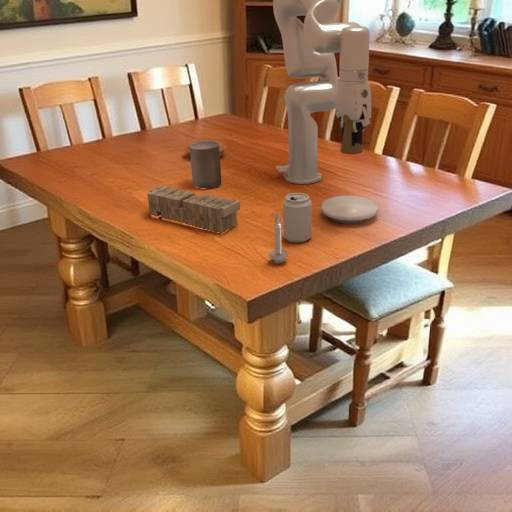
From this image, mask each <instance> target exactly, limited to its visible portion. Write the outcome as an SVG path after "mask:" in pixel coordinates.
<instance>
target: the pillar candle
mask: <svg viewBox="0 0 512 512" xmlns="http://www.w3.org/2000/svg"><path fill="white" fill-rule="evenodd" d="M199 141H200V142H197V141H194V142H191V143H192V144H191V143H190V144H191V145H190V144H189V145H188V146H189V147H190V155H189V156H190V166H191V180H192V185H194V186H196V187H199V188H212V189H215V188H214V187H217V186H219V185H221V183H222V182H223V181H222V172H221V171H222V169H221V157H220V151H219V143H218V142H219V141H218V142H215V141H216V140H199ZM222 184H223V183H222ZM194 186H193V187H194ZM221 186H222V185H221ZM219 187H220V186H219ZM217 188H218V187H217Z"/></svg>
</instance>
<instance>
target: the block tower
mask: <svg viewBox="0 0 512 512" xmlns="http://www.w3.org/2000/svg"><path fill="white" fill-rule="evenodd" d="M195 194H196V193H195V192H194V191H187V190H183V189H179V188H175V187H171V186H165V185H158V186H156V187H154V188H151V189H149V192H148V193H147V202H148V209H149V216H150V215H154V216H159V215H161V217H160V218H165V219H169V220H174V221H178V222H181V223H185V224H188V225H192V226H195V227H199V228H203V229H207V230H210V231H214V232H219V233H223V232H225V231H226V230H228V229H230V228H232V227H233V228H235V227H236V225H237V226H238V214H237V212H238V211H240V210H242V209H241V201H240V200H236V199H234V198H232V199H231V198H229V199H227V198H223V197H219V196H214V195H209V194H205V193H203V194H201V195H198V196H195ZM234 226H235V227H234ZM233 228H232V229H233ZM230 230H231V229H230ZM210 231H209V232H210ZM228 231H229V230H228ZM214 232H213V233H214ZM219 233H218V234H219ZM225 233H226V232H225ZM223 234H224V233H223Z"/></svg>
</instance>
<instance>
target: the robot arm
mask: <svg viewBox="0 0 512 512" xmlns="http://www.w3.org/2000/svg"><path fill="white" fill-rule="evenodd" d="M343 1H344V0H272V2H273V3H272V7H273V15H274V19H275V21H276V24H277V27H278V29H279V32H280V34H281V41H282V46H283V47H282V48H283V49H282V50H283V55H284V62H285V64H284V65H285V69H286V72H287V74H288V77H290V78H291V79H297V80H298V79H309V78H311V79H312V78H319V80H317V81H315V80H314V81H303V82H296V83H293V84H291V85H289V86H288V87H287V88H286V90H285V92H284V93H285V94H284V101H285V105H286V110H287V113H286V114H287V118H288V119H287V123H288V163H287V164H285V165H276V166H275V171H276V172H278V174H284V180H285V181H286V182H287V183H292V184H295V185H296V184H297V185H308V184H310V185H311V184H313V183H314V184H315V183H318V182H320V181H321V180H322V179H323V174H322V173H321V172H320V171H318V164H319V162H318V154H319V153H318V152H319V151H318V149H319V147H318V145H319V144H318V140H319V139H318V138H319V137H318V135H319V134H318V133H319V132H318V131H319V130H318V129H319V127H318V124H317V122H316V120H315V119H314V118H313V116H311V114H313V113H318V112H326V111H333V110H336V111H335V116H336V118H338V121H339V123H340V124H339V126H340V128H341V143H342V139H343V132H344V126H345V123H344V121H343V116H344V115H347V116H348V117H349V118H350V119H351V120H353V131H354V132H352V146H353V147H354V146H355V143H357V144H359V143H360V145H362V146H363V132H364V131H365V128H366V127H367V126H369V125H370V124H371V120H370V119H371V118H372V94H371V92H372V90H371V86H370V85H371V84H370V81H369V63H370V62H369V61H370V60H369V59H370V40H371V39H370V37H371V36H370V29H369V28H368V27H367V26H365V25H364V26H363V25H360V24H359V23H358V22H354V21H350V22H349V21H348V22H347V21H346V22H332V21H333V20H334V19H335V18H336V16H337V14H338V13H339V12H338V11H339V5H341V4H342V2H343ZM301 16H305V17H304V20H303V21H304V22H302V21H301V20H300V19H299V18H298V17H301ZM331 22H332V23H331ZM335 53H339V69H338V68H337V61H336V56H335ZM338 71H339V75H338ZM360 117H361V119H360ZM359 119H360V120H359ZM357 122H360V123H359V124H358V126H357Z"/></svg>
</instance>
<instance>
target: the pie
mask: <svg viewBox="0 0 512 512" xmlns="http://www.w3.org/2000/svg"><path fill="white" fill-rule="evenodd" d="M200 141H201V140H198V141H196V142H200ZM214 141H215V142H218V143H219V151H220V158H221V157H222V156H223V154H224V152H225V150H226V149H227V145H226V144H225V143H222V142H221V141H218V140H217V141H216V140H214ZM192 143H193V142H191V143H190V144H189V145H191V144H192ZM189 145H187V146H184V150H185V152H187V153H188V156H190V147H189Z"/></svg>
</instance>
